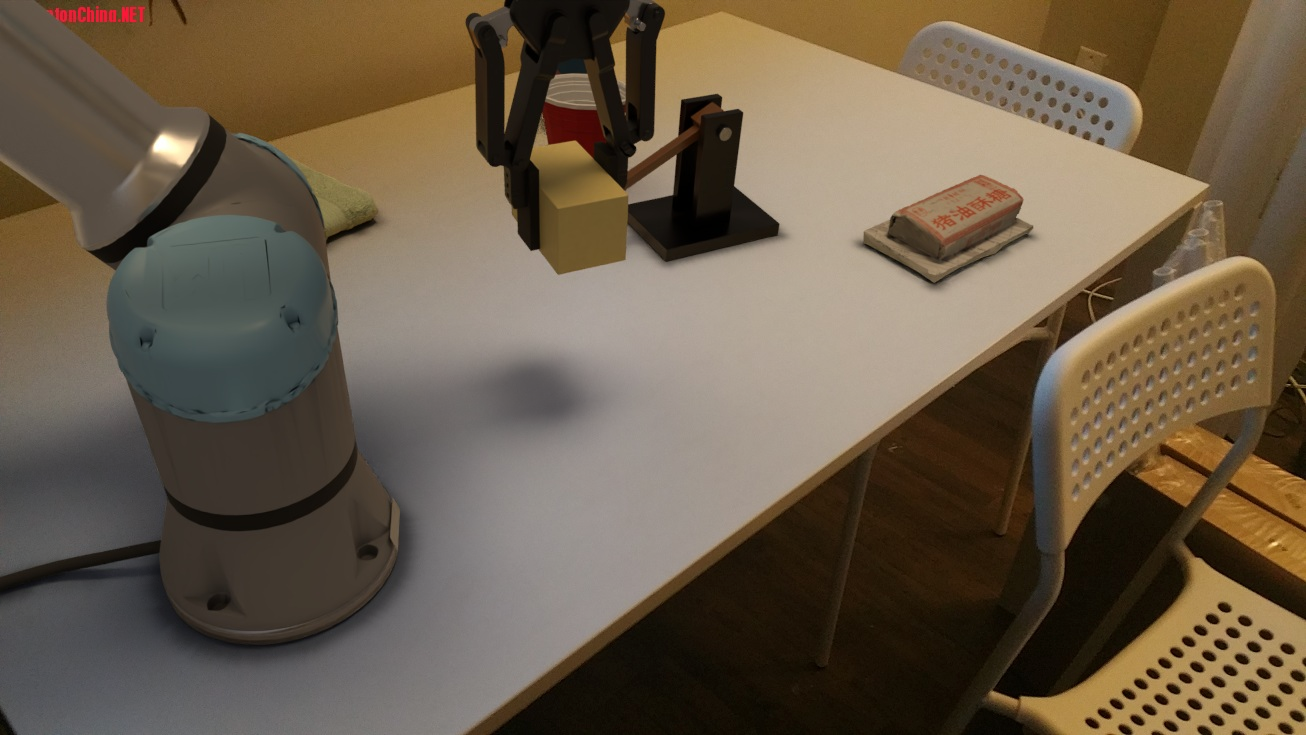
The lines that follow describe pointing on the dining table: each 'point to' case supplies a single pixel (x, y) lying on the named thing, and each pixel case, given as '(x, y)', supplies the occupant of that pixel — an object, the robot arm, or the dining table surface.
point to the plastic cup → (574, 111)
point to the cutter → (703, 192)
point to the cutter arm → (670, 148)
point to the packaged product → (951, 227)
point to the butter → (578, 209)
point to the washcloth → (339, 201)
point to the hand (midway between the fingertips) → (566, 233)
